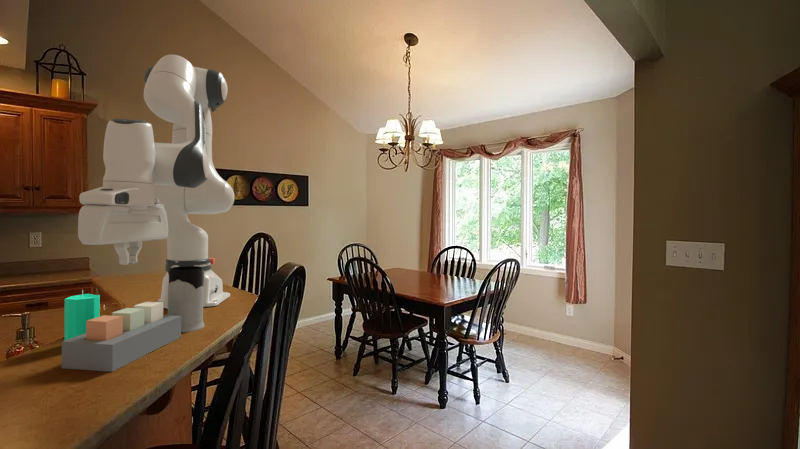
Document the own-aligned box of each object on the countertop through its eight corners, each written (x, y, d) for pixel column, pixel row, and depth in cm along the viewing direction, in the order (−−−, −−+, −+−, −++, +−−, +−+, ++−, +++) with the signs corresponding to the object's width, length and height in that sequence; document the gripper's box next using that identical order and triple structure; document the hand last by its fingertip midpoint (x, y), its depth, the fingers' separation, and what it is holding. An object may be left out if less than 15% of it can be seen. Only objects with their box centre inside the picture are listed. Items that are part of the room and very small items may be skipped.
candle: (80, 350, 82) (80, 293, 82) (56, 347, 83) (56, 291, 83) (106, 341, 88) (107, 288, 88) (84, 339, 89) (84, 286, 89)
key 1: (103, 345, 79) (103, 315, 79) (122, 346, 79) (122, 316, 79) (86, 352, 75) (86, 320, 75) (106, 353, 75) (106, 321, 75)
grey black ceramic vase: (157, 332, 96) (158, 270, 95) (186, 316, 110) (187, 262, 109) (195, 332, 96) (196, 271, 96) (218, 317, 110) (219, 263, 110)
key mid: (126, 335, 85) (126, 307, 85) (144, 336, 85) (144, 308, 85) (111, 341, 81) (111, 312, 81) (130, 342, 81) (130, 313, 81)
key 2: (146, 327, 91) (146, 301, 91) (163, 328, 91) (163, 302, 91) (133, 332, 87) (133, 305, 87) (150, 333, 87) (151, 306, 87)
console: (140, 334, 93) (140, 313, 93) (180, 337, 93) (181, 315, 92) (61, 368, 73) (61, 341, 73) (112, 371, 73) (112, 344, 73)
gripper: (150, 199, 92) (149, 258, 93) (71, 194, 72) (70, 269, 72) (176, 199, 92) (175, 259, 92) (103, 194, 72) (102, 271, 72)
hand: (128, 264), depth 82 cm, fingers closed
